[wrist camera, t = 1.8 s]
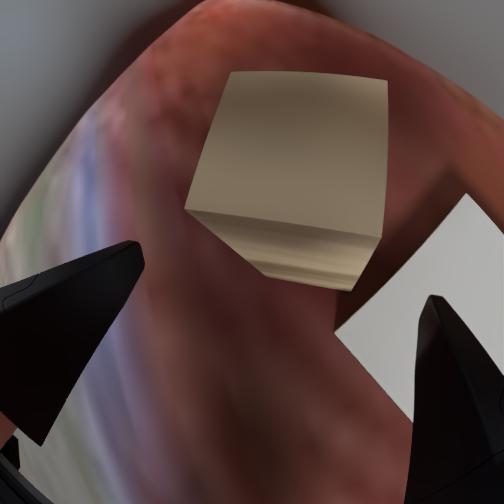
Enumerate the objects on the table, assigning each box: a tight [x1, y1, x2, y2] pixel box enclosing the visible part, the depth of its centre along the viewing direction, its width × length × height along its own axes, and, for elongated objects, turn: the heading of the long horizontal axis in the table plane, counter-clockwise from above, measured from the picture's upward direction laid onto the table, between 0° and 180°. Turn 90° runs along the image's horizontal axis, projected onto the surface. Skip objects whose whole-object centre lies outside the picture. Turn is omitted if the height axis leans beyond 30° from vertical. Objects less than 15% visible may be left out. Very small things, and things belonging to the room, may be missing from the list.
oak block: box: [184, 71, 388, 292], centre depth 14 cm, size 6×6×12 cm
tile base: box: [334, 193, 504, 422], centre depth 15 cm, size 12×12×2 cm
